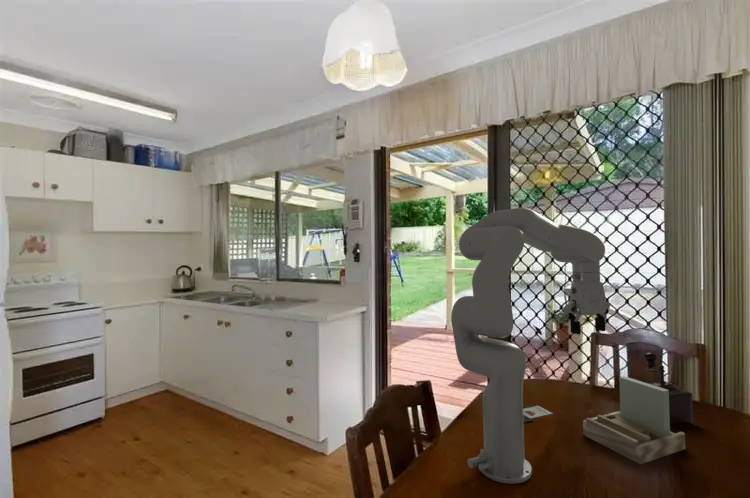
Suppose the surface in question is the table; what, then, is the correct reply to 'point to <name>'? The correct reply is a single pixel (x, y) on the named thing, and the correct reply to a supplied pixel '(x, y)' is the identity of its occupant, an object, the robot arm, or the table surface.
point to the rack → (631, 439)
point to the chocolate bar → (534, 413)
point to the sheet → (645, 405)
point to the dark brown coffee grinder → (672, 394)
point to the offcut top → (632, 426)
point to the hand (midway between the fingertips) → (588, 332)
